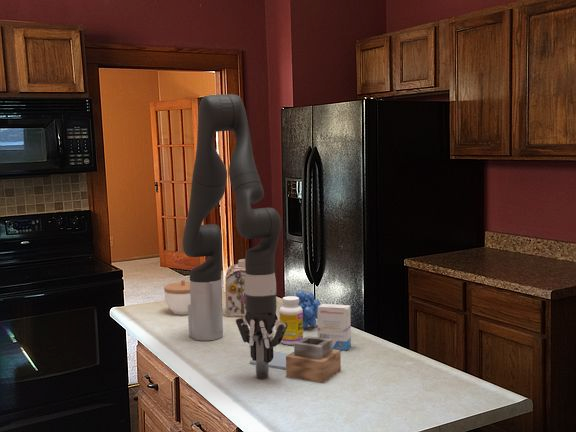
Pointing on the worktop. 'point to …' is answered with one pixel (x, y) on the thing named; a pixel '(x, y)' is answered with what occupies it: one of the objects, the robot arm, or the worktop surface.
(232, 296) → the decorative jar
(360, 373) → the worktop surface
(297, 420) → the worktop surface
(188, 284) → the lidded bowl
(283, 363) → the mat
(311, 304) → the grapes
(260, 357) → the chuck key
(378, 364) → the worktop surface
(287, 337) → the supplement bottle
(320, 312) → the ink box
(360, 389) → the worktop surface
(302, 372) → the block
